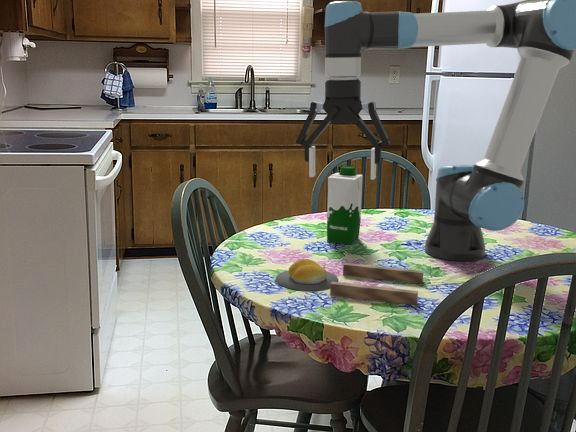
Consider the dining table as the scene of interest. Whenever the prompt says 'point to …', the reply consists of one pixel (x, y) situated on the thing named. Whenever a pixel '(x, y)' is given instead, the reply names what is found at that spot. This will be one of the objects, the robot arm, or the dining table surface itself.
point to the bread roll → (307, 272)
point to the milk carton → (344, 206)
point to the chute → (375, 291)
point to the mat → (289, 283)
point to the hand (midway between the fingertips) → (342, 177)
